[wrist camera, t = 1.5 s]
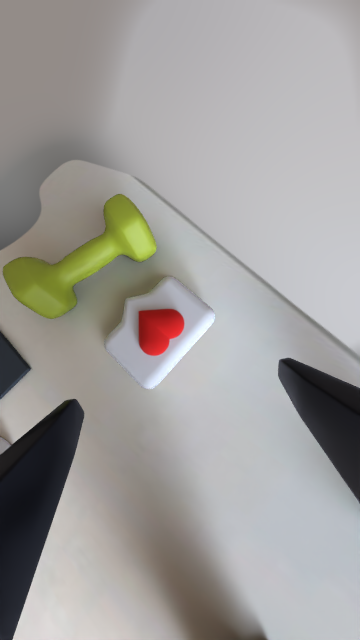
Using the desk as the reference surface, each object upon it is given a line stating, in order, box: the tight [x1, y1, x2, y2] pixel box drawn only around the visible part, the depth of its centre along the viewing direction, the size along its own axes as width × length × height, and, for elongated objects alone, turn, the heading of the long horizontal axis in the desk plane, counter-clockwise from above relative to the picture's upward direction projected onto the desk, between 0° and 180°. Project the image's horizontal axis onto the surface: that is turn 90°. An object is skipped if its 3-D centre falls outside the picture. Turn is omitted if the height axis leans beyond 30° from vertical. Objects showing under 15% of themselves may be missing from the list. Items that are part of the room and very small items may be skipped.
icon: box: [104, 276, 215, 389], centre depth 21 cm, size 12×4×10 cm
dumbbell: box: [3, 194, 156, 319], centre depth 22 cm, size 16×8×7 cm, turn 124°
